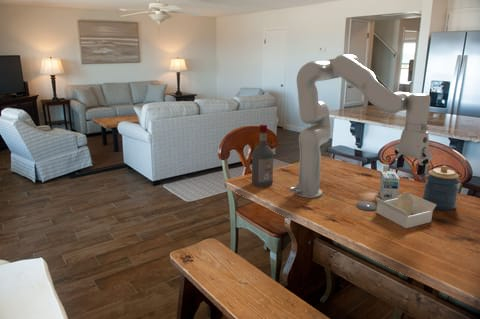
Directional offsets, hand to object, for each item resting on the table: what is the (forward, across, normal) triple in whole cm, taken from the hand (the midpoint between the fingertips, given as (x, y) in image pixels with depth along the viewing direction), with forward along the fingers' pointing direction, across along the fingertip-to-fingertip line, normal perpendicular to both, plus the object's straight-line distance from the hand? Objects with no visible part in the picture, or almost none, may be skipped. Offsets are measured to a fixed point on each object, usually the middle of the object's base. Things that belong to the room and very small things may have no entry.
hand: (409, 170), depth 140 cm
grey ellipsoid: (+19, +14, +6) cm, 25 cm away
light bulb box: (+20, +19, -11) cm, 30 cm away
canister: (+20, +3, -24) cm, 31 cm away
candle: (+20, 0, 0) cm, 20 cm away
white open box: (+20, 0, 0) cm, 20 cm away
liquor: (+19, +57, +34) cm, 69 cm away
